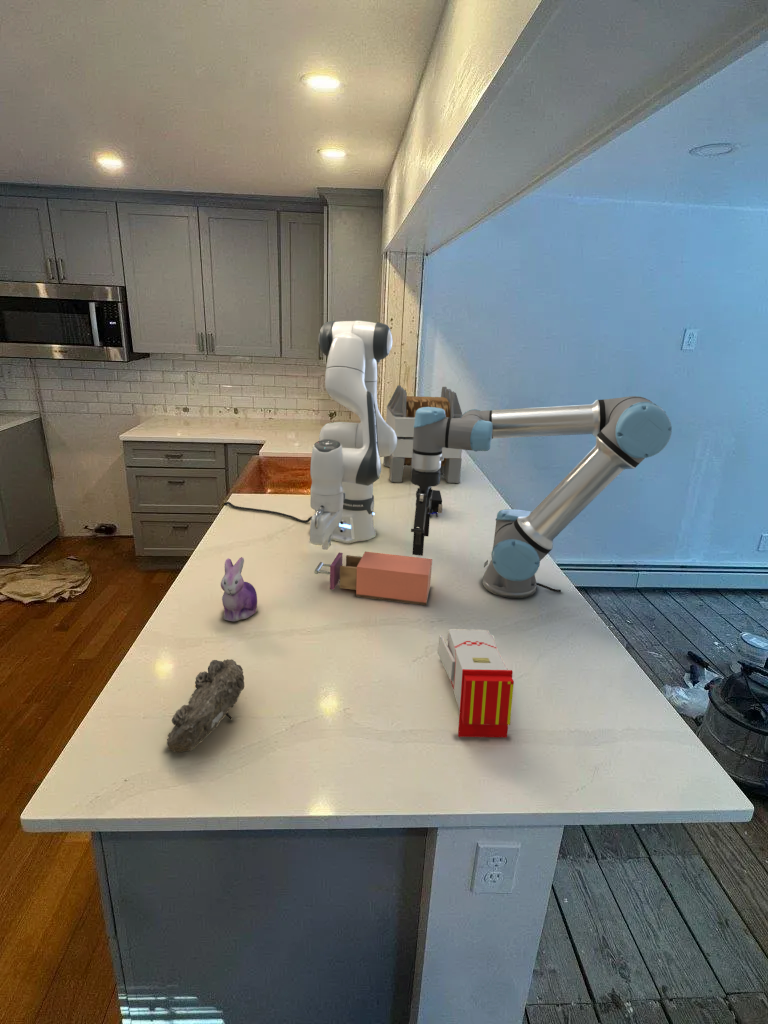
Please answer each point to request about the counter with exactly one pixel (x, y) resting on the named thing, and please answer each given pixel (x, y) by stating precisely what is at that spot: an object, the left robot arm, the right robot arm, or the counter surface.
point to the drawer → (341, 571)
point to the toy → (478, 682)
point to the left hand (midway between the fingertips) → (326, 547)
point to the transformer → (402, 423)
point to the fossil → (206, 705)
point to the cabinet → (394, 578)
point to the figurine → (237, 593)
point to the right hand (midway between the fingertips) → (420, 544)
